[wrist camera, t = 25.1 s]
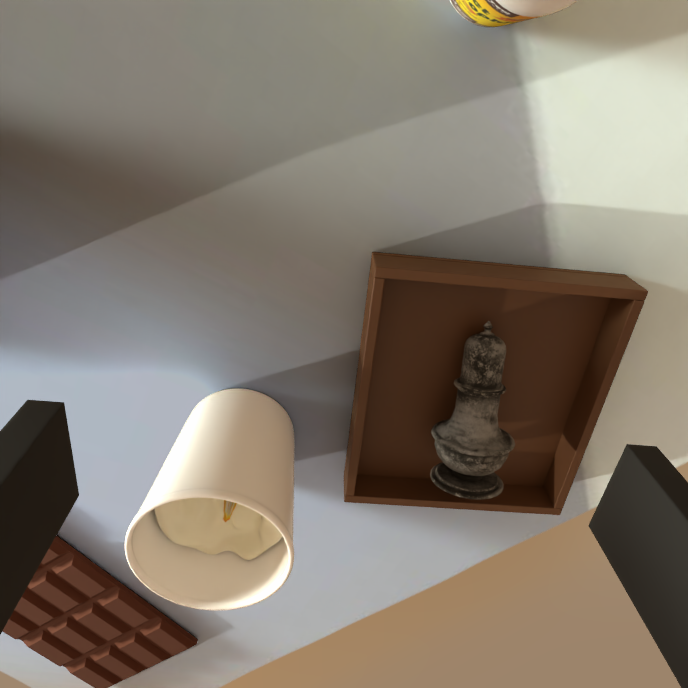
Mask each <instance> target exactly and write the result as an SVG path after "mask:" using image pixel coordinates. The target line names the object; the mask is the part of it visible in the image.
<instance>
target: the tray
mask: <svg viewBox="0 0 688 688" xmlns="http://www.w3.org/2000/svg"><path fill="white" fill-rule="evenodd" d="M647 293H648V291H647V290H646V289H645V288H643V287H642V286H640V285H639V284H637V283H636V282H635V281H633V280H632V279H630V278H629V277H628V276H626V275H624V274H612V273H601V272H590V271H579V270H568V269H557V268H546V267H535V266H523V265H512V264H501V263H490V262H479V261H468V260H457V259H446V258H434V257H423V256H412V255H401V254H390V253H379V252H372V258H371V266H370V274H369V282H368V290H367V298H366V306H365V313H364V321H363V329H362V337H361V345H360V353H359V360H358V368H357V376H356V384H355V392H354V400H353V407H352V415H351V423H350V431H349V439H348V447H347V454H346V462H345V470H344V501H345V502H353V503H370V504H386V505H403V506H419V507H436V508H453V509H469V510H486V511H502V512H519V513H535V514H552V515H560V513H561V511H562V508H563V506H564V503H565V501H566V498H567V496H568V493H569V491H570V488H571V485H572V483H573V480H574V478H575V475H576V473H577V470H578V468H579V465H580V463H581V460H582V458H583V455H584V453H585V450H586V448H587V445H588V443H589V440H590V438H591V435H592V433H593V430H594V427H595V425H596V422H597V420H598V417H599V415H600V412H601V410H602V407H603V405H604V402H605V400H606V397H607V395H608V392H609V390H610V387H611V385H612V382H613V380H614V377H615V374H616V372H617V369H618V367H619V364H620V362H621V359H622V357H623V354H624V352H625V349H626V347H627V344H628V342H629V339H630V337H631V334H632V332H633V329H634V327H635V324H636V322H637V319H638V316H639V314H640V311H641V309H642V306H643V304H644V300H645V298H646V296H647ZM488 321H490V323H491V324H492V326H493V328H492V329H491V332H492V333H494V335H495V336H497V337H499V338H500V339H502V340H503V341H504V343H505V345H506V356H505V363H504V369H503V375H502V382H501V383H502V384H503V385H504V386H505V387H506V392H505V393H503V394H501V396H500V402H499V409H498V425H499V428H501V429H503V430H505V431H506V432H507V433H509V434H510V435H511V436H512V438H513V439H514V441H515V447H514V449H513V450H512V451H510V452H509V455H508V457H507V459H506V461H505V462H504V464H503V465H502V467H501V468H500V469H498V470H497V471H495V472H494V473H496V474H497V475H498V476H499V477H500V478H501V480H502V482H503V486H504V487H503V490H502V492H501V493H500V494H499V495H498V496H496V497H493V498H490V499H482V500H478V499H467V498H461V497H458V496H455V495H452V494H450V493H447V492H445V491H443V490H442V489H440V488H439V487H437V486H436V485H435V484H434V483H433V481H432V480H431V477H430V473H431V469H432V468H433V467H434V466H435V465H437V464H439V463H442V460H441V459H440V458H439V456H438V454H437V451H436V448H435V444H434V443H435V439H434V438H433V436H432V433H431V431H432V427H433V426H434V425H435V424H436V423H438V422H440V421H442V420H447V419H450V418H451V416H452V414H453V412H454V409H455V405H456V397H457V390H458V388H457V387H456V386H455V385H454V381H455V380H456V379H457V378H459V377H460V375H461V368H462V360H463V353H464V345H465V342H466V340H467V339H468V338H469V337H470V336H472V335H475V334H479V333H480V332H483V331H484V330H485V328H484V327H483V326H484V325H485V323H487V322H488Z"/></svg>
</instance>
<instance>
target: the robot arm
mask: <svg viewBox="0 0 688 688" xmlns="http://www.w3.org/2000/svg"><path fill="white" fill-rule="evenodd" d="M78 496H79V492H78V486H77V480H76V474H75V468H74V461H73V455H72V449H71V443H70V437H69V431H68V424H67V418H66V412H65V406H64V403H63V402H49V401H36V400H27V401H26V402H25V404H24V405H23V406H22V407H21V408H20V409H19V410H18V411H17V413H16V414H15V415H14V416H13V417H12V418H11V419H10V421H9V422H8V423H7V424H6V425H5V426H4V427H3V429H2V430H1V431H0V634H1V633H2V631H3V629H4V627H5V625H6V624H7V622H8V620H9V618H10V617H11V615H12V613H13V611H14V609H15V608H16V606H17V604H18V602H19V601H20V599H21V597H22V595H23V594H24V592H25V590H26V588H27V586H28V585H29V583H30V581H31V579H32V578H33V576H34V574H35V572H36V570H37V569H38V567H39V565H40V563H41V562H42V560H43V558H44V556H45V555H46V553H47V551H48V549H49V547H50V546H51V544H52V542H53V540H54V539H55V537H56V535H57V533H58V531H59V530H60V528H61V526H62V524H63V523H64V521H65V519H66V517H67V516H68V514H69V512H70V510H71V508H72V507H73V505H74V503H75V501H76V500H77V498H78ZM589 527H590V529H591V531H592V532H593V534H594V536H595V538H596V539H597V541H598V543H599V545H600V546H601V548H602V550H603V551H604V553H605V555H606V557H607V559H608V560H609V562H610V564H611V566H612V567H613V569H614V571H615V572H616V574H617V576H618V578H619V579H620V581H621V583H622V584H623V586H624V588H625V590H626V592H627V593H628V595H629V597H630V599H631V600H632V602H633V604H634V606H635V607H636V609H637V611H638V613H639V614H640V616H641V618H642V620H643V621H644V623H645V625H646V627H647V628H648V630H649V632H650V634H651V635H652V637H653V639H654V640H655V642H656V644H657V646H658V648H659V649H660V651H661V653H662V655H663V656H664V658H665V660H666V661H667V663H668V665H669V667H670V668H671V670H672V672H673V674H674V675H675V677H676V678H677V681H678V682H679V684H680V686H681V688H688V482H687V481H686V480H685V479H684V478H683V476H682V475H681V474H680V473H679V472H678V471H677V469H676V468H675V467H674V466H673V465H672V464H671V463H670V461H669V460H668V459H667V458H666V457H665V456H664V454H663V453H662V452H661V451H660V450H659V449H658V448H657V447H656V446H642V445H629V444H627V445H626V447H625V449H624V452H623V454H622V456H621V458H620V460H619V462H618V464H617V466H616V468H615V471H614V473H613V475H612V477H611V479H610V481H609V483H608V485H607V488H606V490H605V492H604V494H603V496H602V498H601V500H600V502H599V504H598V507H597V509H596V511H595V513H594V515H593V517H592V519H591V522H590V524H589Z"/></svg>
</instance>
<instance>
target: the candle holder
mask: <svg viewBox="0 0 688 688" xmlns="http://www.w3.org/2000/svg"><path fill="white" fill-rule="evenodd" d="M293 510H294V429H293V425H292V422H291V419H290V417H289V416H288V414H287V412H286V411H285V410H284V409H283V407H282V406H281V405H280V404H279V403H277V402H276V401H275V400H273V399H272V398H270V397H269V396H267V395H265V394H262V393H260V392H257V391H253V390H249V389H226V390H221V391H218V392H215V393H213V394H211V395H209V396H207V397H206V398H204V399H203V400H202V401H201V402H199V403H198V404H197V406H196V407H195V408H194V409H193V411H192V412H191V414H190V416H189V417H188V419H187V421H186V423H185V425H184V426H183V428H182V430H181V432H180V434H179V436H178V438H177V440H176V441H175V443H174V445H173V447H172V449H171V451H170V453H169V455H168V457H167V459H166V460H165V462H164V464H163V466H162V468H161V470H160V472H159V474H158V476H157V478H156V479H155V481H154V483H153V485H152V487H151V489H150V491H149V493H148V495H147V497H146V498H145V500H144V502H143V504H142V506H141V508H140V510H139V512H138V513H137V515H136V516H135V518H134V519H133V520H132V522H131V524H130V526H129V528H128V531H127V534H126V538H125V554H126V558H127V561H128V564H129V566H130V568H131V570H132V571H133V573H134V574H135V575H136V577H137V578H138V579H139V580H140V581H141V582H142V583H143V584H144V585H145V586H146V587H147V588H149V589H150V590H151V591H153V592H154V593H156V594H157V595H159V596H161V597H163V598H165V599H167V600H169V601H171V602H174V603H177V604H180V605H183V606H186V607H191V608H196V609H202V610H232V609H238V608H243V607H247V606H250V605H253V604H256V603H258V602H260V601H262V600H264V599H266V598H268V597H269V596H271V595H272V594H274V593H275V592H276V591H277V590H278V589H280V588H281V586H282V585H283V584H284V583H285V581H286V580H287V578H288V577H289V575H290V572H291V570H292V567H293V562H294V547H293Z"/></svg>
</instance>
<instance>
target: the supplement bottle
mask: <svg viewBox="0 0 688 688" xmlns="http://www.w3.org/2000/svg"><path fill="white" fill-rule="evenodd" d="M576 1H577V0H450V2H451V3H452V5H453V7H454V8H455V9H456V11H457V12H458V13H459V14H460V15H461V16H462V17H463V18H465V19H466V20H468V21H469V22H471V23H473V24H476V25H479V26H484V27H497V26H503V25H507V24H512V23H516V22H520V21H524V20H529V19H533V18H537V17H542V16H546V15H550V14H553V13H555V12H558V11H560V10H563V9H565V8H567V7H568V6H570V5H572V4H573V3H575V2H576Z"/></svg>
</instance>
